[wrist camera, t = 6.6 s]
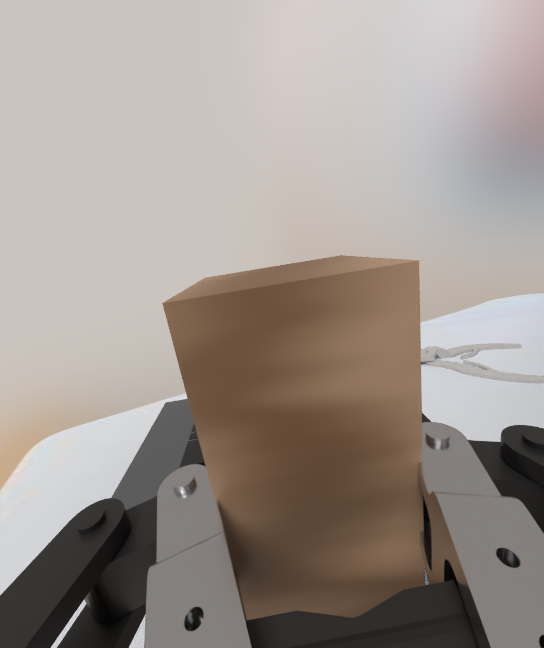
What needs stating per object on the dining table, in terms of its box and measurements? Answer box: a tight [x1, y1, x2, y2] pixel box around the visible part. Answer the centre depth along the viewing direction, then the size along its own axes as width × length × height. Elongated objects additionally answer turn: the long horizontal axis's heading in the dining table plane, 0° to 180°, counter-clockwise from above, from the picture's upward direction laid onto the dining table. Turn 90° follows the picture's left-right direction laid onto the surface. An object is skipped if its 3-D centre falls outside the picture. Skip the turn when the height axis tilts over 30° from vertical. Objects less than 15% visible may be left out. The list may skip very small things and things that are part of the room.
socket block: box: [112, 399, 194, 510], centre depth 22 cm, size 15×12×4 cm
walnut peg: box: [163, 256, 425, 620], centre depth 9 cm, size 4×4×14 cm
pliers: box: [421, 344, 544, 383], centre depth 34 cm, size 10×2×15 cm
